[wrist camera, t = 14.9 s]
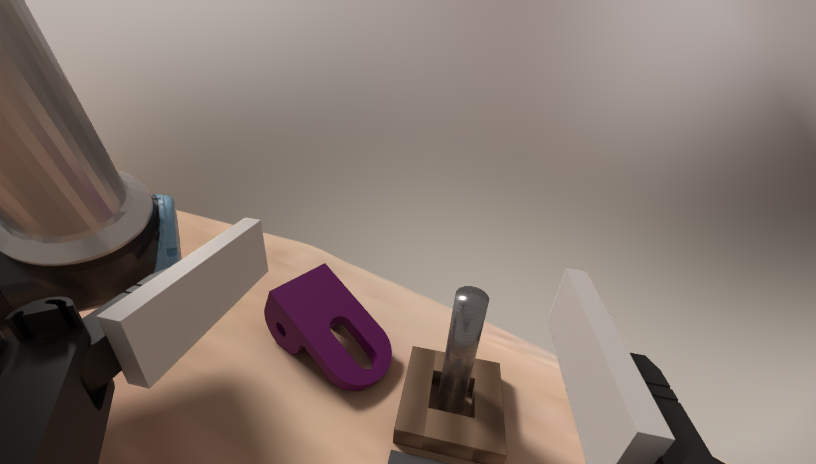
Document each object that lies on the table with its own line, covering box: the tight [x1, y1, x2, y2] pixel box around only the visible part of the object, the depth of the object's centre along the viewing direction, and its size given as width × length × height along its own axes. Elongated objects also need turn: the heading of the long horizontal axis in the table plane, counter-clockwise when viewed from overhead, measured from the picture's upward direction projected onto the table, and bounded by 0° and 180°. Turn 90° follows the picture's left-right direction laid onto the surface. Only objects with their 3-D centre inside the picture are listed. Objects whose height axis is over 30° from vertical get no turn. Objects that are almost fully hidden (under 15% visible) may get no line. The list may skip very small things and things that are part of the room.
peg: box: [437, 286, 489, 414], centre depth 38 cm, size 3×3×17 cm
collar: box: [393, 346, 507, 464], centre depth 41 cm, size 12×12×2 cm
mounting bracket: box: [264, 263, 392, 391], centre depth 48 cm, size 10×8×18 cm
